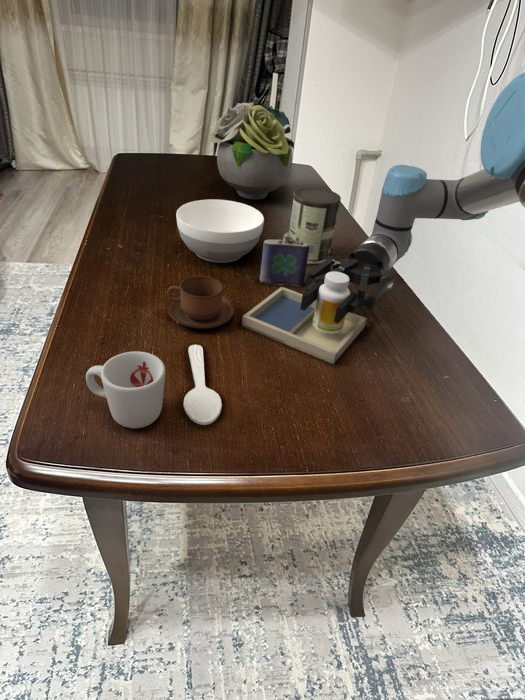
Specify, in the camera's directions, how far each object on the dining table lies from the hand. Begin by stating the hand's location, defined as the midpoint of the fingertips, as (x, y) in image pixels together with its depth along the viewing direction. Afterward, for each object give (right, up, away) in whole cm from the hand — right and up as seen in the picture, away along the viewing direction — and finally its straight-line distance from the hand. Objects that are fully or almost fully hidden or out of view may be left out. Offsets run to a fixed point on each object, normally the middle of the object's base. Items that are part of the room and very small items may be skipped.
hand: (320, 309), depth 79 cm
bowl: (-19, +15, +32) cm, 40 cm away
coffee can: (+1, +16, +35) cm, 39 cm away
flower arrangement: (-12, +39, +65) cm, 76 cm away
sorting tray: (-2, -2, +10) cm, 10 cm away
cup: (-28, -15, -12) cm, 34 cm away
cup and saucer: (-20, -1, +10) cm, 23 cm away
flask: (-5, +7, +23) cm, 25 cm away
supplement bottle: (+2, -3, +7) cm, 8 cm away
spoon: (-19, -12, -5) cm, 23 cm away
